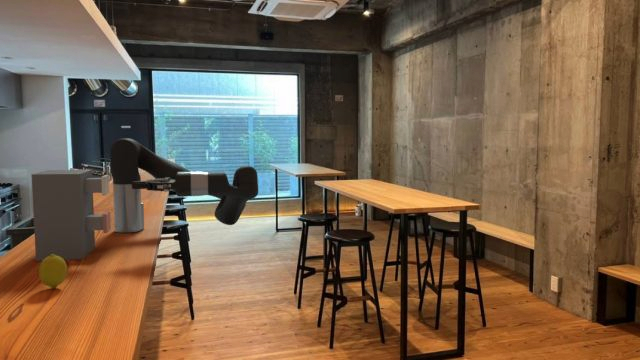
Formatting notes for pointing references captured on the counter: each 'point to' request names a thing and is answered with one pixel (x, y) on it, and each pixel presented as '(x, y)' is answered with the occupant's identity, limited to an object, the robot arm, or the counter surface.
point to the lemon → (53, 271)
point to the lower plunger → (99, 222)
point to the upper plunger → (97, 185)
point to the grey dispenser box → (62, 214)
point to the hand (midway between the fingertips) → (132, 185)
